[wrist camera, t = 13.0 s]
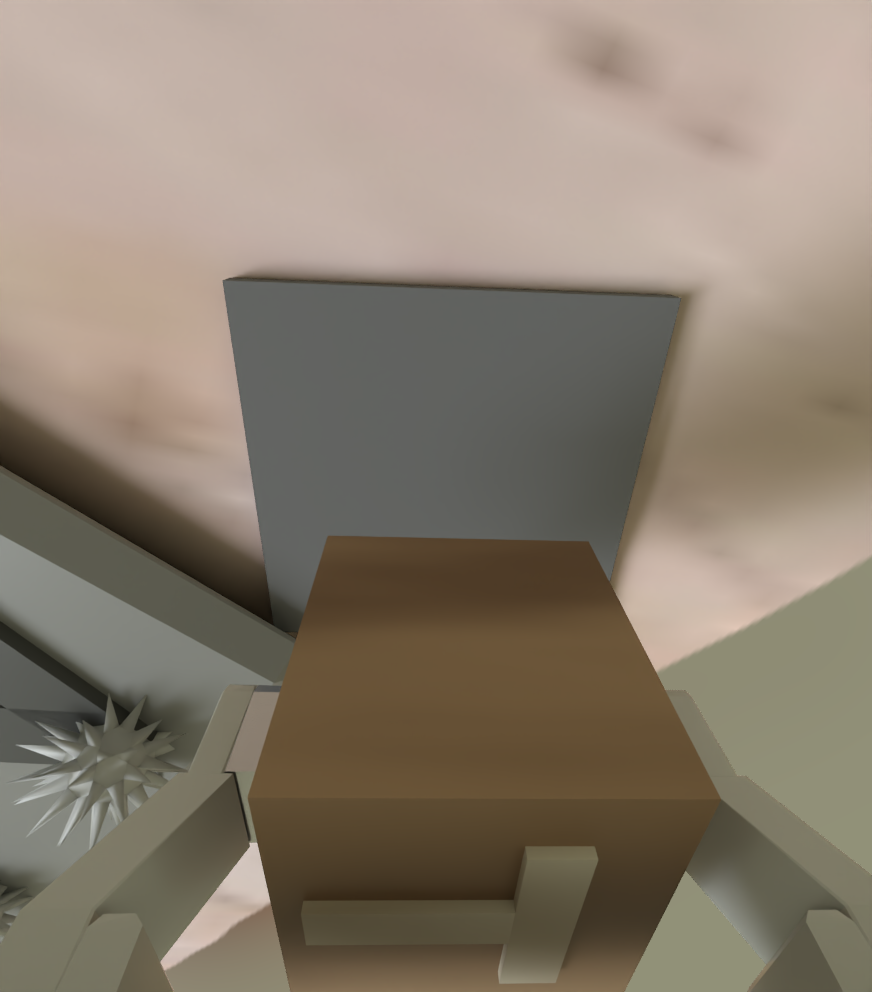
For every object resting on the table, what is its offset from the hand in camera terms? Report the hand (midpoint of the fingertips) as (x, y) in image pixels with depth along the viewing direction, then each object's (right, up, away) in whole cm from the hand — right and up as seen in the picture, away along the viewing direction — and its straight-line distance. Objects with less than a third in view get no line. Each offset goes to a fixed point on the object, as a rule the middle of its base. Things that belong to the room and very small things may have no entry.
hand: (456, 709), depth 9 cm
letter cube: (0, +1, +2) cm, 2 cm away
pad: (0, +4, +7) cm, 9 cm away
